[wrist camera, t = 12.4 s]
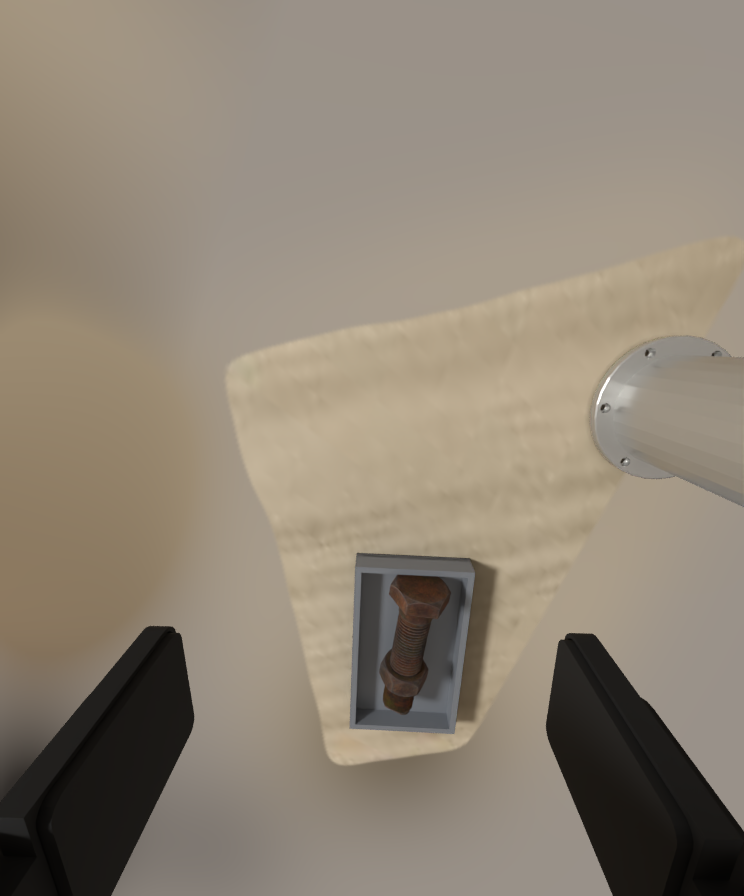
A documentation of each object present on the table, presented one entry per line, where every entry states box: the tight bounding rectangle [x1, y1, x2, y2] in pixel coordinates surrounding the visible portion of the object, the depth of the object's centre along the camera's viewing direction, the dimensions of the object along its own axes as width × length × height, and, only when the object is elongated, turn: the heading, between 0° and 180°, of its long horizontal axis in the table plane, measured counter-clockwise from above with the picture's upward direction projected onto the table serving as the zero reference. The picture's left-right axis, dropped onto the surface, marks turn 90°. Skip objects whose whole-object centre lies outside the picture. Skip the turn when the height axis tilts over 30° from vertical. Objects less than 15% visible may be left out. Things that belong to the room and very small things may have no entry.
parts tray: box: [350, 553, 475, 734], centre depth 40 cm, size 11×20×2 cm, turn 177°
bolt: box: [379, 575, 451, 715], centre depth 39 cm, size 6×5×15 cm
